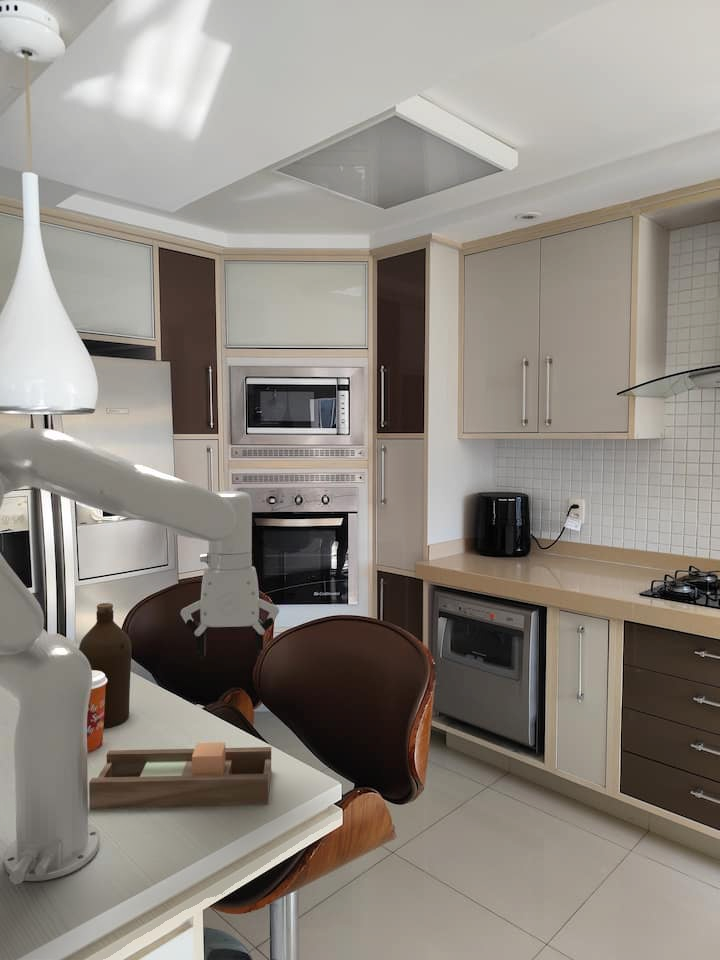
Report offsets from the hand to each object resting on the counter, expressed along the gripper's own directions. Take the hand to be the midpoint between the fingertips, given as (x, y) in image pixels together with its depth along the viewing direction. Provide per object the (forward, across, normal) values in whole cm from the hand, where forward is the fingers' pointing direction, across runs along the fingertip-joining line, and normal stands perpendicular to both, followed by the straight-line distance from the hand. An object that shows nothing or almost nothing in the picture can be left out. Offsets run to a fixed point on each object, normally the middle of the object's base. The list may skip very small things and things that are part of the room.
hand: (230, 654), depth 119 cm
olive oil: (+22, -28, +25) cm, 44 cm away
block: (+19, -3, -5) cm, 20 cm away
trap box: (+22, -7, -5) cm, 24 cm away
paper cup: (+22, -29, +13) cm, 39 cm away
